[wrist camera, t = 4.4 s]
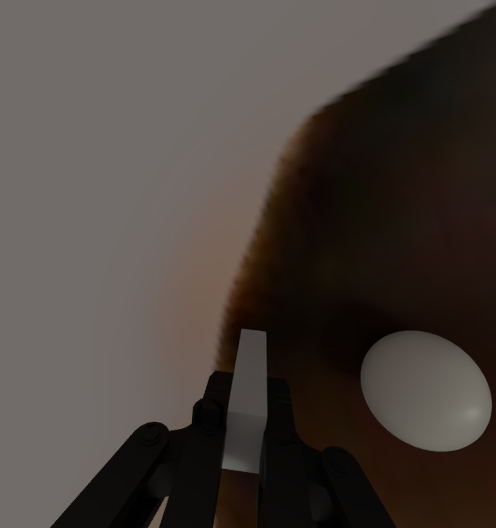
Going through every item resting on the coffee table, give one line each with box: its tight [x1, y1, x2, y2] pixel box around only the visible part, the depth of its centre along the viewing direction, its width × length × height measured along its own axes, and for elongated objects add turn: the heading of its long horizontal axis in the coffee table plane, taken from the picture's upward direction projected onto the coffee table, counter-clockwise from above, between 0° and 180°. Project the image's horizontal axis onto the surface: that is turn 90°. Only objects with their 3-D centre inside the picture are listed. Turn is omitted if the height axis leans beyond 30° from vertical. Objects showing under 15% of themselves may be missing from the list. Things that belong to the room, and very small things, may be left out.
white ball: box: [361, 331, 492, 451], centre depth 15 cm, size 6×6×6 cm
